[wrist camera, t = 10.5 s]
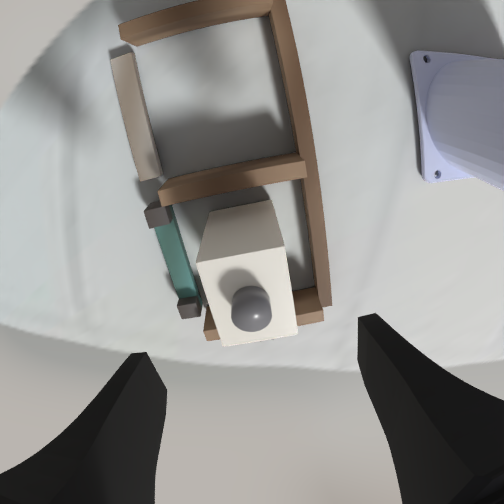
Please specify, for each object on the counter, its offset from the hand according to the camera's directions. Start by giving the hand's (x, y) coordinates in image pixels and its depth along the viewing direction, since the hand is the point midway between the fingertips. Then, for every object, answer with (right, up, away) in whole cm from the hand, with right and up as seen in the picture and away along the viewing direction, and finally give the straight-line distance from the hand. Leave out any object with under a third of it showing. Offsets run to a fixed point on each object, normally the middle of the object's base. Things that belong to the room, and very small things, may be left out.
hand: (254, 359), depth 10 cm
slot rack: (-1, +8, +7) cm, 10 cm away
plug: (0, +4, +8) cm, 10 cm away
